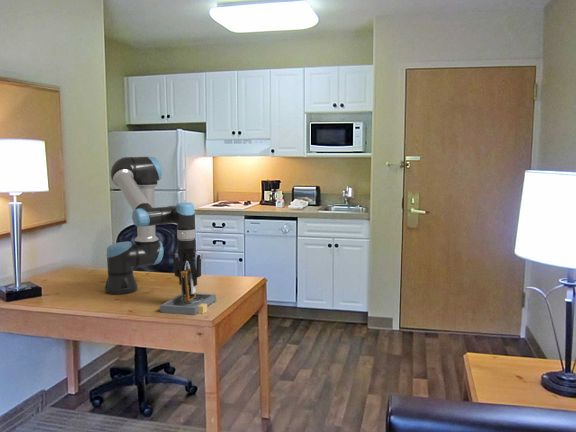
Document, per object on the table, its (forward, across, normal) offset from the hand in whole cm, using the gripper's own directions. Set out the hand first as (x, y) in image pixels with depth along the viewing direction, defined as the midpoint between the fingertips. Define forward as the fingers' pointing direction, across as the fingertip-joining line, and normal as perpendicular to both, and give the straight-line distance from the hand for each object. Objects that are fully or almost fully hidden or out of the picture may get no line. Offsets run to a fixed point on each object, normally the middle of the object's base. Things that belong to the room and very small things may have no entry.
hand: (188, 292), depth 220 cm
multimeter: (+3, +3, +1) cm, 5 cm away
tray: (+6, +1, 0) cm, 6 cm away
